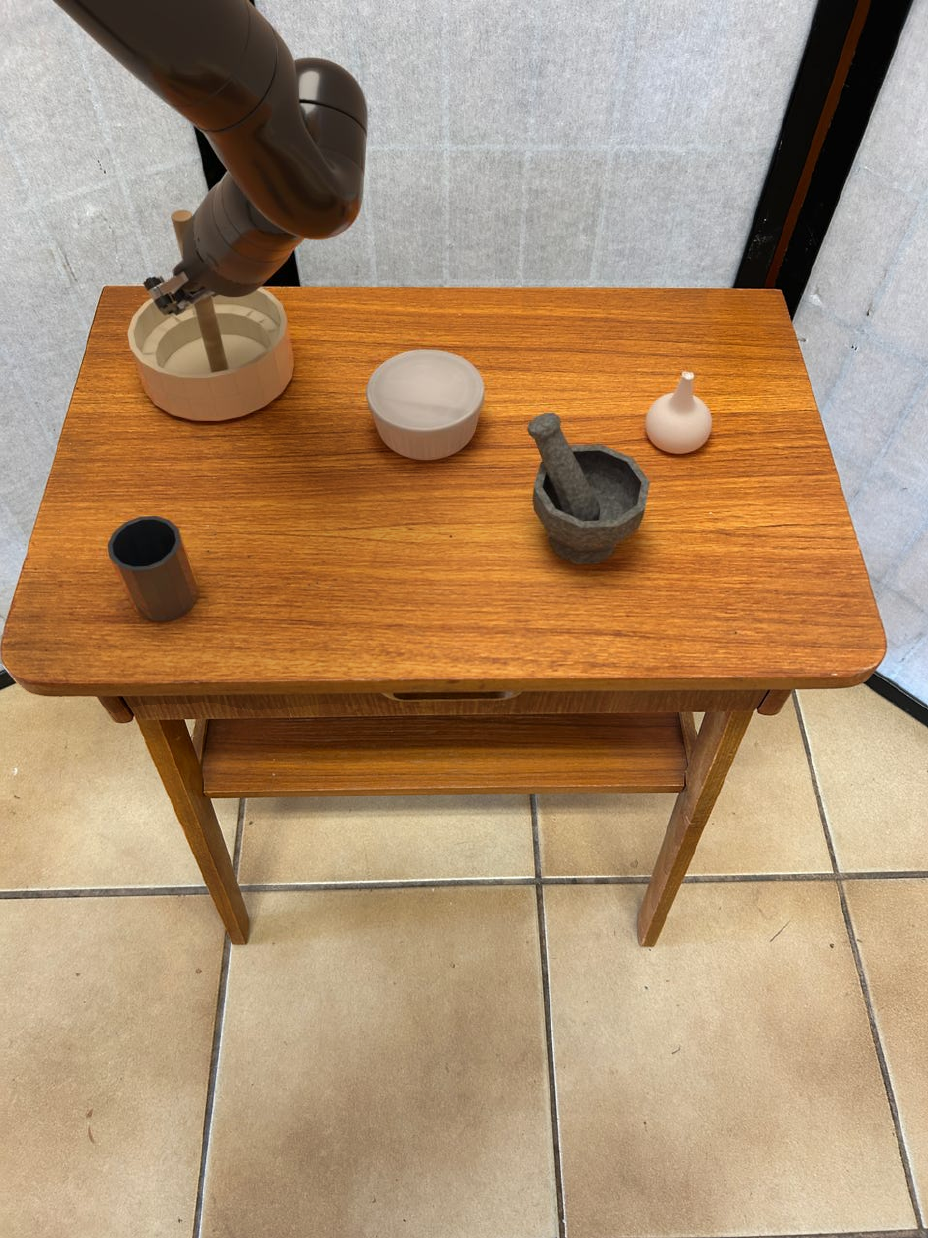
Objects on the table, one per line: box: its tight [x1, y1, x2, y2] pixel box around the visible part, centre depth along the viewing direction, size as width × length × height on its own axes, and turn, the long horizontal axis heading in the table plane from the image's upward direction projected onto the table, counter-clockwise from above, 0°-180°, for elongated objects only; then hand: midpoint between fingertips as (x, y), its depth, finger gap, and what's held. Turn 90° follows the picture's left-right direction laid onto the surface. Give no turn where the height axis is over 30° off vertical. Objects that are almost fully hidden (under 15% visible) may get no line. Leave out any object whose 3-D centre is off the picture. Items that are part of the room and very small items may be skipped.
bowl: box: [126, 286, 295, 422], centre depth 95 cm, size 15×15×6 cm
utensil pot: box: [107, 515, 200, 623], centre depth 78 cm, size 6×6×7 cm
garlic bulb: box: [644, 370, 713, 455], centre depth 90 cm, size 6×6×8 cm
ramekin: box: [365, 349, 486, 461], centre depth 91 cm, size 11×11×5 cm
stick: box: [170, 209, 228, 373], centre depth 90 cm, size 2×2×17 cm
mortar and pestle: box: [526, 412, 651, 565], centre depth 81 cm, size 11×9×12 cm
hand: (191, 295), depth 92 cm, fingers open, 3 cm apart
